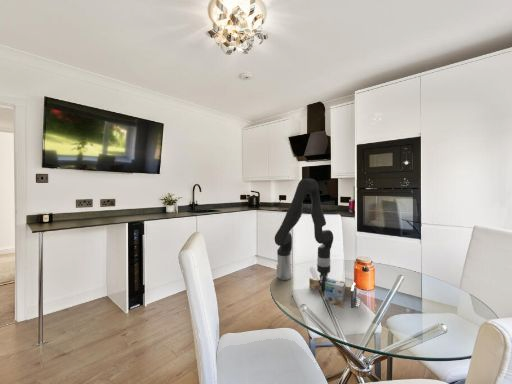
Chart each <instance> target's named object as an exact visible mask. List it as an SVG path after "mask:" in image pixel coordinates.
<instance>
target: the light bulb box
mask: <svg viewBox="0 0 512 384" xmlns="http://www.w3.org/2000/svg"><path fill="white" fill-rule="evenodd" d="M345 285H346V281H343V280H339V279H334V278H329V277H328V278H327V280H326V282H325V292H324V298H323V299H324V300H326V301H329V302H332V300H335V301H339V302H343V303H344V302H345V300H346V296H345Z"/></svg>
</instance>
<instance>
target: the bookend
mask: <svg viewBox="0 0 512 384" xmlns="http://www.w3.org/2000/svg"><path fill="white" fill-rule="evenodd" d="M356 284H357V283H356V282H353V283H352V285H351V286H352V288H351V297H350V309H354V308H358V309H359V308H360V306H361V305H360V304H361V299H360V298H357V297H356V298H355V290H356V286H357V285H356Z"/></svg>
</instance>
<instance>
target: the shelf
mask: <svg viewBox="0 0 512 384" xmlns="http://www.w3.org/2000/svg"><path fill="white" fill-rule="evenodd" d="M319 280H320V279H317V278H314V277H309V280H308V281H309V285H308V287H309V289H313V290H319V291H321V286H320V284H319ZM351 288H352V285H347V284H345V297H350V298H351ZM357 288H358V287H356V290H355V298H356V299H357V294H358V293H357ZM344 304H345V303H344V302H339V301H335V300H332V301H331V305H332V306H335V307H341V308H344V306H345V305H344Z"/></svg>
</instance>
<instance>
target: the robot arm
mask: <svg viewBox="0 0 512 384" xmlns="http://www.w3.org/2000/svg"><path fill="white" fill-rule="evenodd" d="M307 195H309V196H310V199H311V208H310V215H311V219H312V222H313V230H314V239H315V242H316V243H317V244H320V245H319V246H318V247H317V259H316V268H317V269H316V270H317V272H318V273H319V279H318V280H319V284H320V286H321V290H320V291H321V292H324V293H325V282H326V280H327V278H329V277H328V276H329V273H331V248H332V245H333V242H334V234H333V231H331V230H329V229H324V230H323V227H325V226H326V224H327V221H326V217H325V215H324V212H323V209H322V203H321V197H320V190H319V184H318V182H317V180H315V179H313V178H302V179H300V181H299V182H298V183H297V186H296V190H295V193H294V196H293V198H292V200H291V203H290V204H289V207H288V209H287V211H286V214H285V216H284V218H283V220H282V222H281V225H280V227H279V228H278V230H277V232H276V234H275V235H274V243H275V244H276V245H277V246H278V248H277V250H276V253H277V254H276V255H277V256H276V257H277V258H276V259H277V264H276V278H277V279H279V280H282V281H289V280H290V279H291V278H292V260H291V259H292V257H291V255H292V254H291V252H292V249H293V248H292V247H293V238H292V237H293V236H292V234H291V232H290V231H291V230H292V229H293V228H294V227H295V226H296V225H297V224H298V222H299V221H300V219H301V217H302V216H303V212H304V206H303V201H304V200H305V197H306V196H307Z"/></svg>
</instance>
